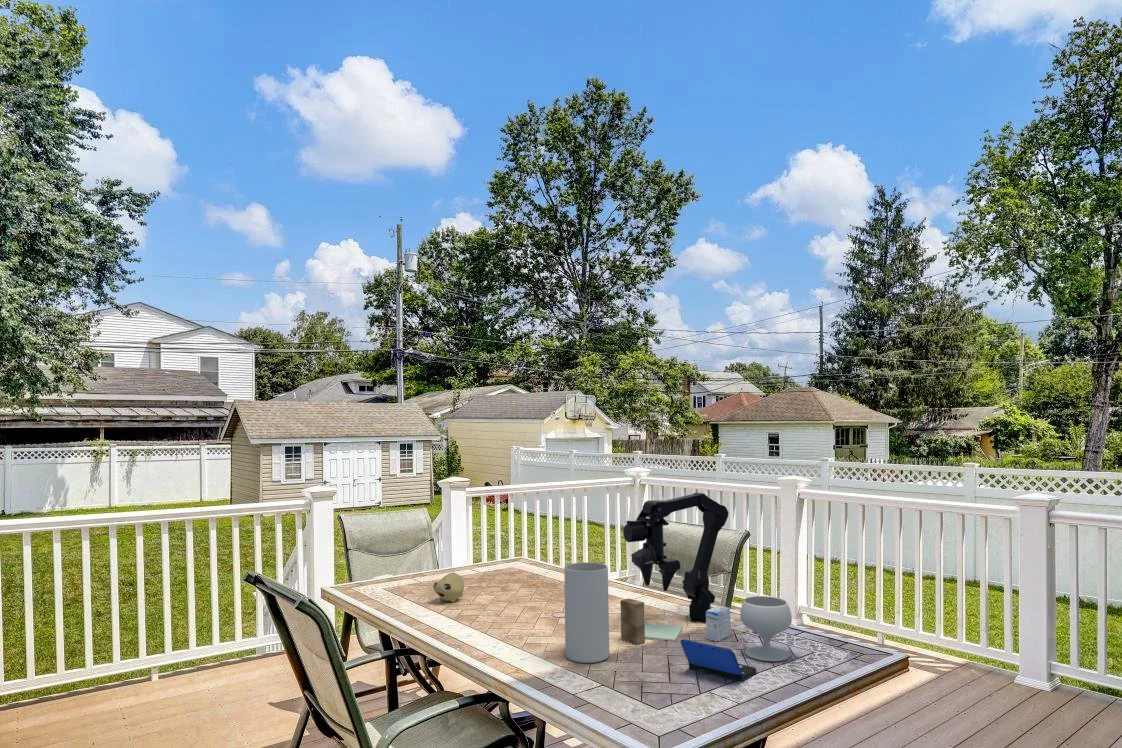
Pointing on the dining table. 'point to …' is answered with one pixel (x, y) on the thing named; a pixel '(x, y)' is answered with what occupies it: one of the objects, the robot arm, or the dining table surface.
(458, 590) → the olive toy creature
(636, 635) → the walnut slab
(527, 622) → the dining table surface
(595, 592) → the cylinder vase
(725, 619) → the medicine box
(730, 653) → the handheld game console
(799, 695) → the dining table surface
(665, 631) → the mat
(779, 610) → the chalice
